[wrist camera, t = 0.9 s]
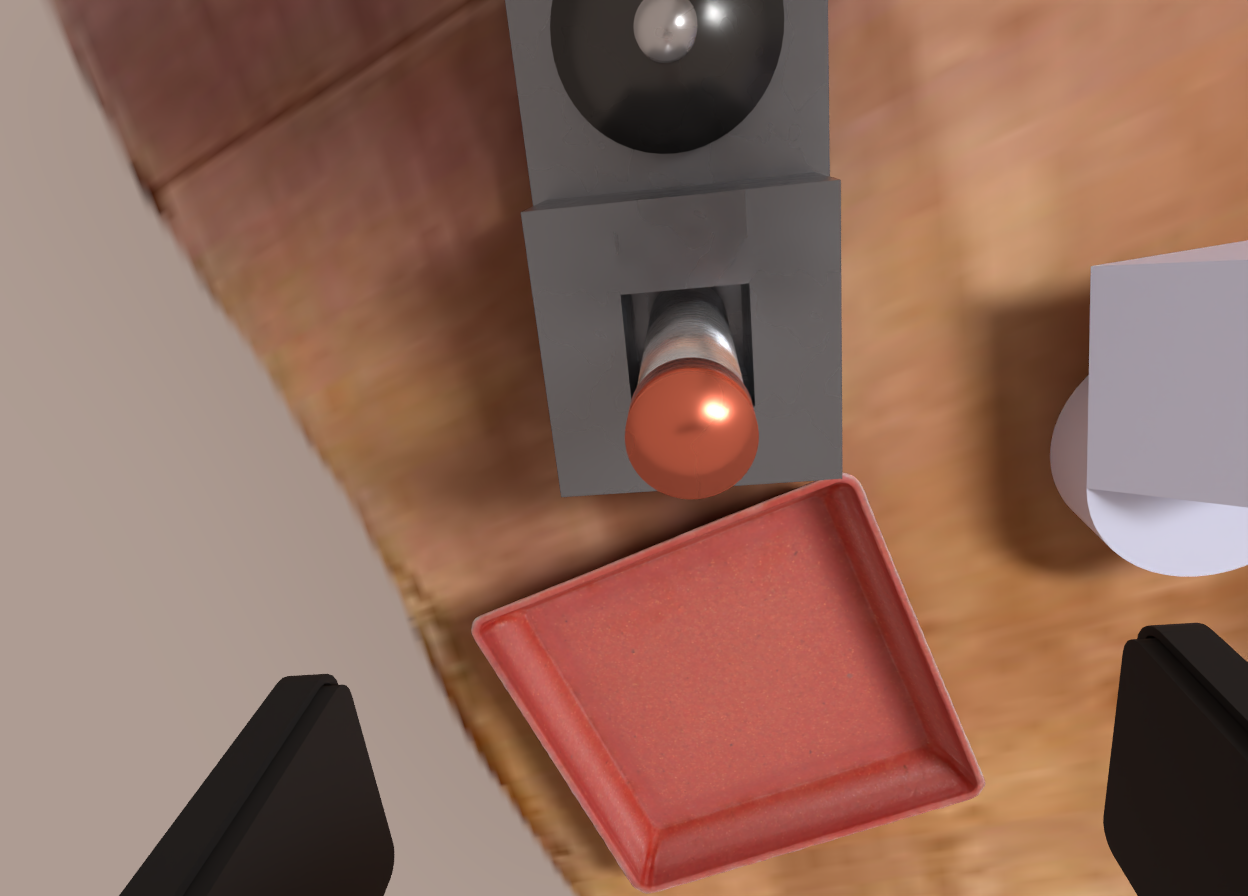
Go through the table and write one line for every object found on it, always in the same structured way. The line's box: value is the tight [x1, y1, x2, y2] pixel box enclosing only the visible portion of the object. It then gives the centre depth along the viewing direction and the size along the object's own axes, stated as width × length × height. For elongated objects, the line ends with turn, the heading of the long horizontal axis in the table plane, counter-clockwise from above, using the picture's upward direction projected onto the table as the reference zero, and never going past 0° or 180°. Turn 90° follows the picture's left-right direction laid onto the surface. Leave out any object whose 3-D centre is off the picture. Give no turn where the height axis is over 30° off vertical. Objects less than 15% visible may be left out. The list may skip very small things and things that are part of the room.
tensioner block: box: [505, 0, 842, 497], centre depth 28 cm, size 19×11×6 cm, turn 6°
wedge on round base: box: [1050, 240, 1248, 576], centre depth 30 cm, size 9×7×13 cm
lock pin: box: [625, 287, 759, 499], centre depth 25 cm, size 3×3×13 cm
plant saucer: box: [471, 473, 985, 893], centre depth 38 cm, size 18×18×3 cm
